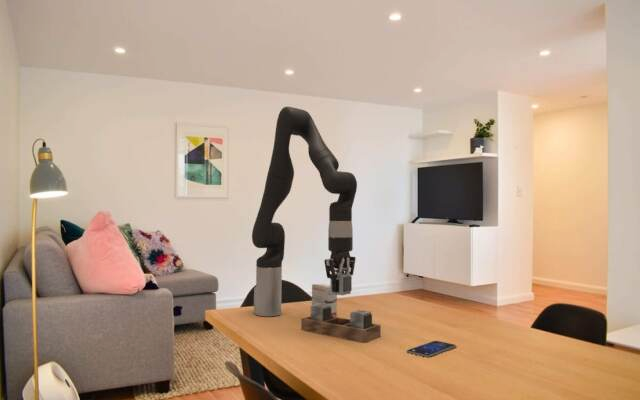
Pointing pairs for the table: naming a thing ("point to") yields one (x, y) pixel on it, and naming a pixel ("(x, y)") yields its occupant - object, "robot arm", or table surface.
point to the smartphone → (431, 349)
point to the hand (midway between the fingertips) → (340, 290)
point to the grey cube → (343, 284)
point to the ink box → (324, 297)
